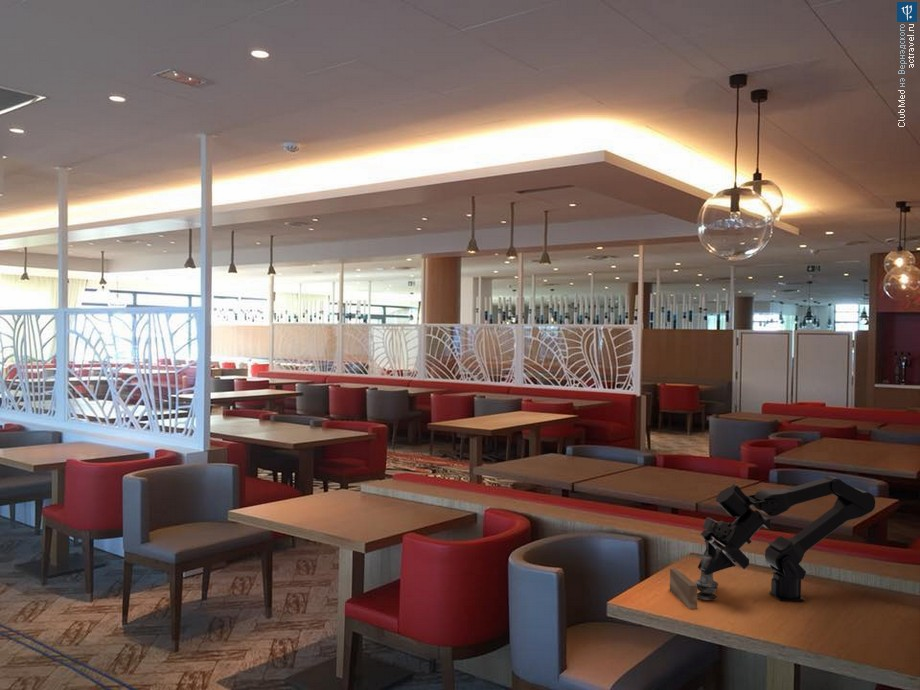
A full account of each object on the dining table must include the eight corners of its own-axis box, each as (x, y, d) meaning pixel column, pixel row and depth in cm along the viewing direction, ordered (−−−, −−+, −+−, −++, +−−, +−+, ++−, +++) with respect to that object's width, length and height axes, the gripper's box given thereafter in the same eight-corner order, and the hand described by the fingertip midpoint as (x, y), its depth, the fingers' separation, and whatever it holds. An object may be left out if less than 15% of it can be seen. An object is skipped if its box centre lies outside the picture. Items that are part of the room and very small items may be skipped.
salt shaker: (713, 601, 201) (713, 555, 201) (691, 596, 205) (692, 551, 205) (721, 595, 206) (722, 550, 206) (700, 591, 210) (700, 546, 209)
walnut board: (676, 590, 212) (677, 568, 212) (697, 608, 198) (697, 585, 198) (669, 590, 212) (670, 568, 212) (689, 609, 198) (689, 585, 198)
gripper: (708, 499, 215) (668, 540, 214) (738, 516, 196) (695, 560, 195) (735, 527, 216) (695, 568, 215) (767, 546, 197) (724, 591, 196)
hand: (701, 571), depth 205 cm, fingers closed on salt shaker, 4 cm apart
